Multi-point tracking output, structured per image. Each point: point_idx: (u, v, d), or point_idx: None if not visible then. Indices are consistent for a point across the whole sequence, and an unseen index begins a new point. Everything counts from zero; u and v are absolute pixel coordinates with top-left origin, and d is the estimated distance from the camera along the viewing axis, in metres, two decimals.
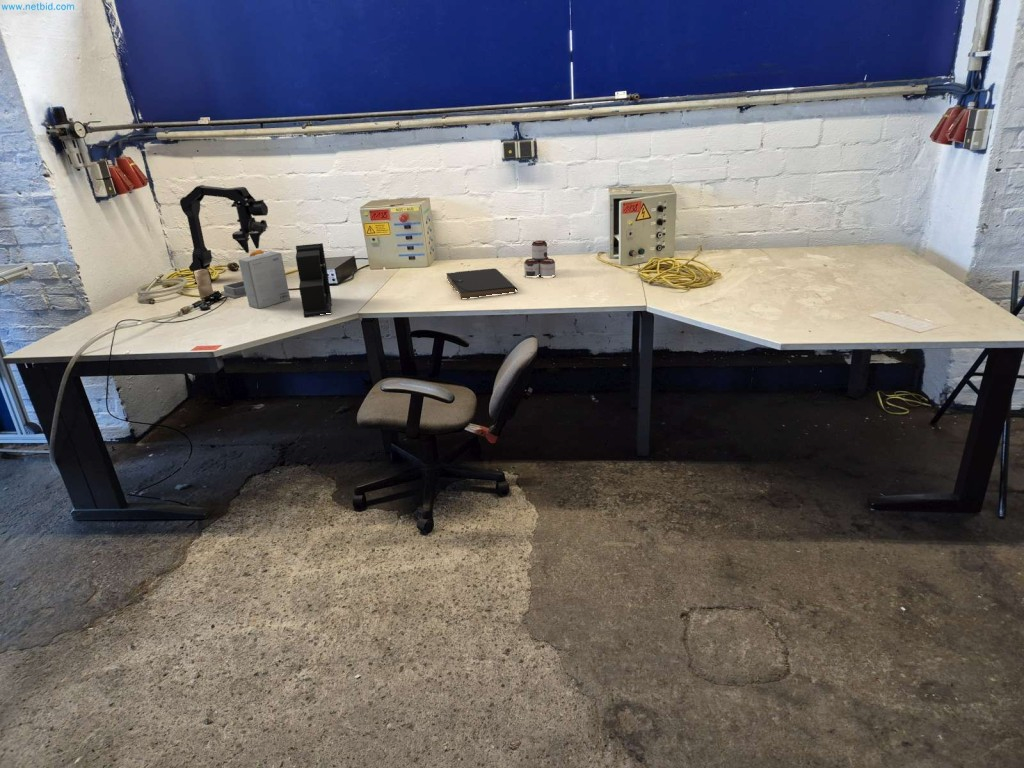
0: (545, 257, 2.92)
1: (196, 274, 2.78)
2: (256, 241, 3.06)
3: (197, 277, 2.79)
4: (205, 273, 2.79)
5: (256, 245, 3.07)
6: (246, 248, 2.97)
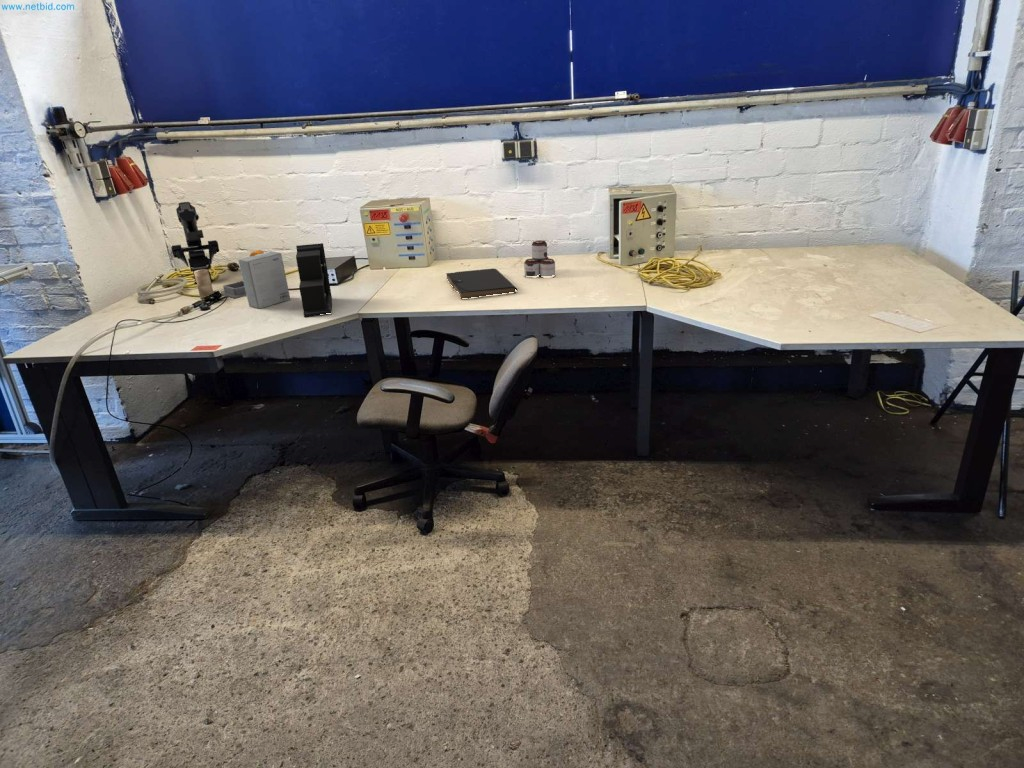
0: (545, 257, 2.92)
1: (196, 274, 2.78)
2: (209, 256, 2.89)
3: (197, 277, 2.79)
4: (205, 273, 2.79)
5: (209, 260, 2.89)
6: (184, 261, 2.85)
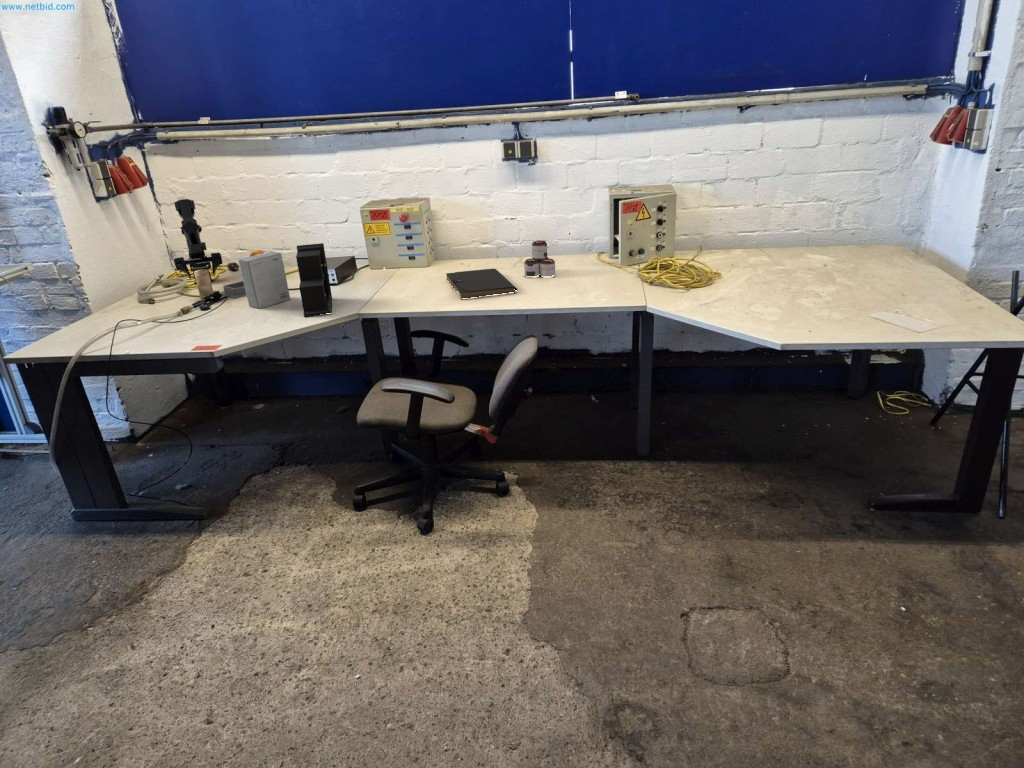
0: (545, 257, 2.92)
1: (196, 274, 2.78)
2: (212, 269, 2.86)
3: (197, 277, 2.79)
4: (205, 273, 2.79)
5: None
6: (187, 274, 2.81)
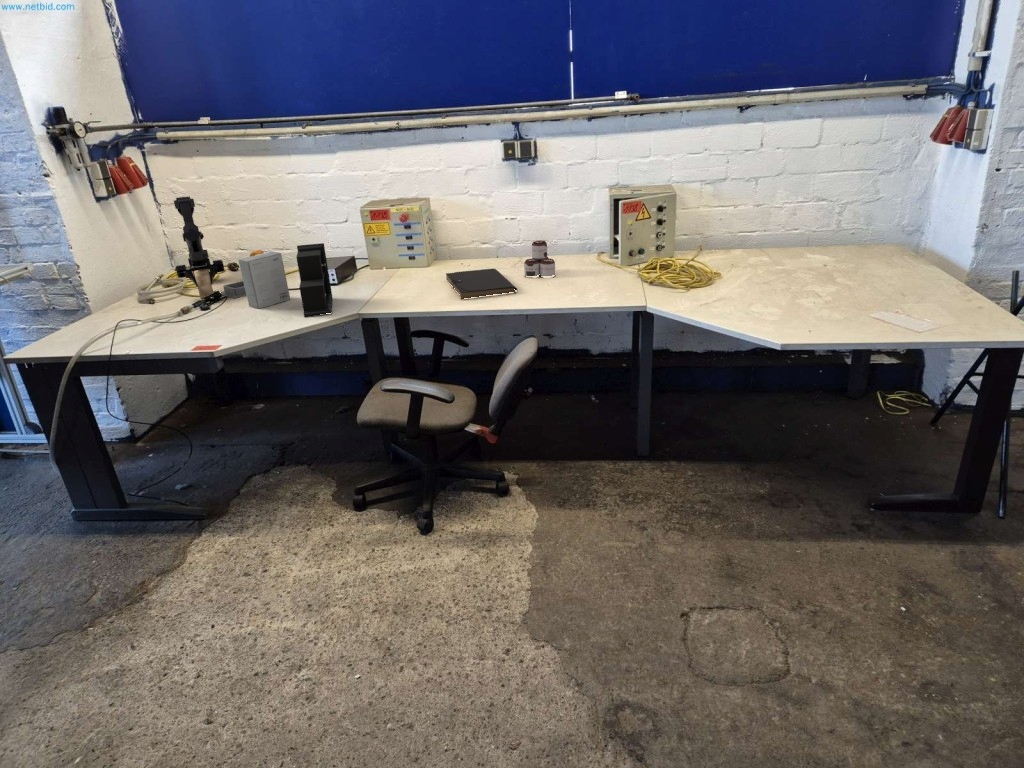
0: (545, 257, 2.92)
1: (196, 274, 2.78)
2: (210, 277, 2.83)
3: (197, 277, 2.79)
4: (205, 273, 2.79)
5: None
6: (193, 281, 2.80)
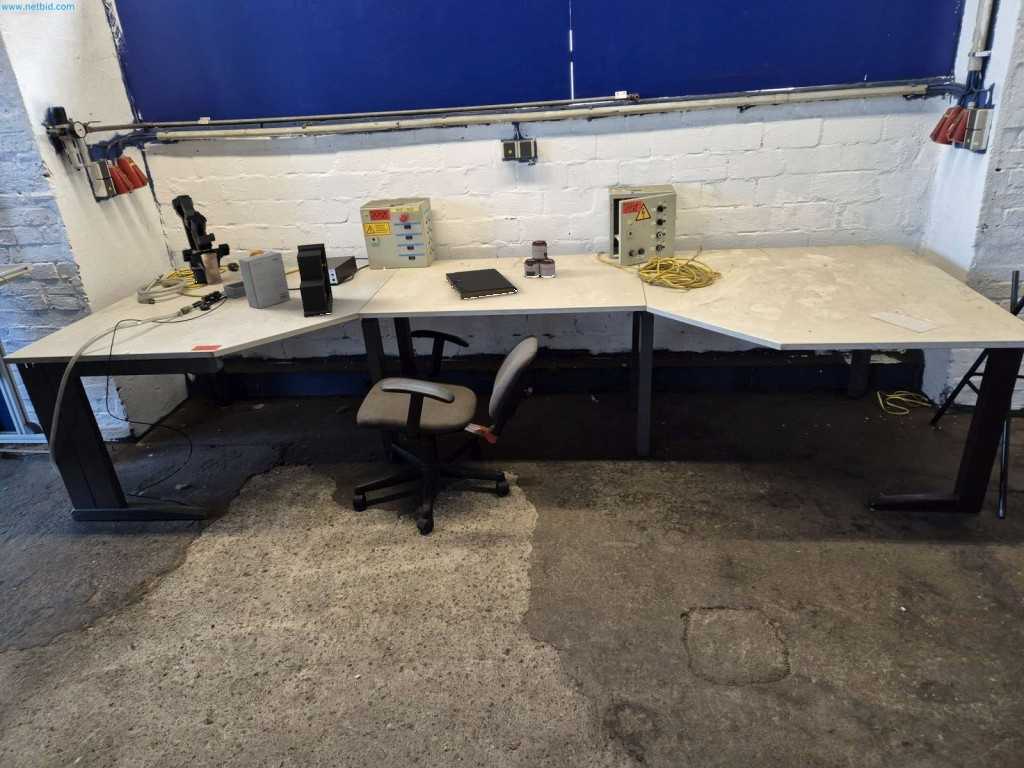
0: (545, 257, 2.92)
1: (204, 257, 2.77)
2: (217, 260, 2.83)
3: (205, 260, 2.78)
4: (213, 256, 2.79)
5: (218, 264, 2.83)
6: (201, 265, 2.79)
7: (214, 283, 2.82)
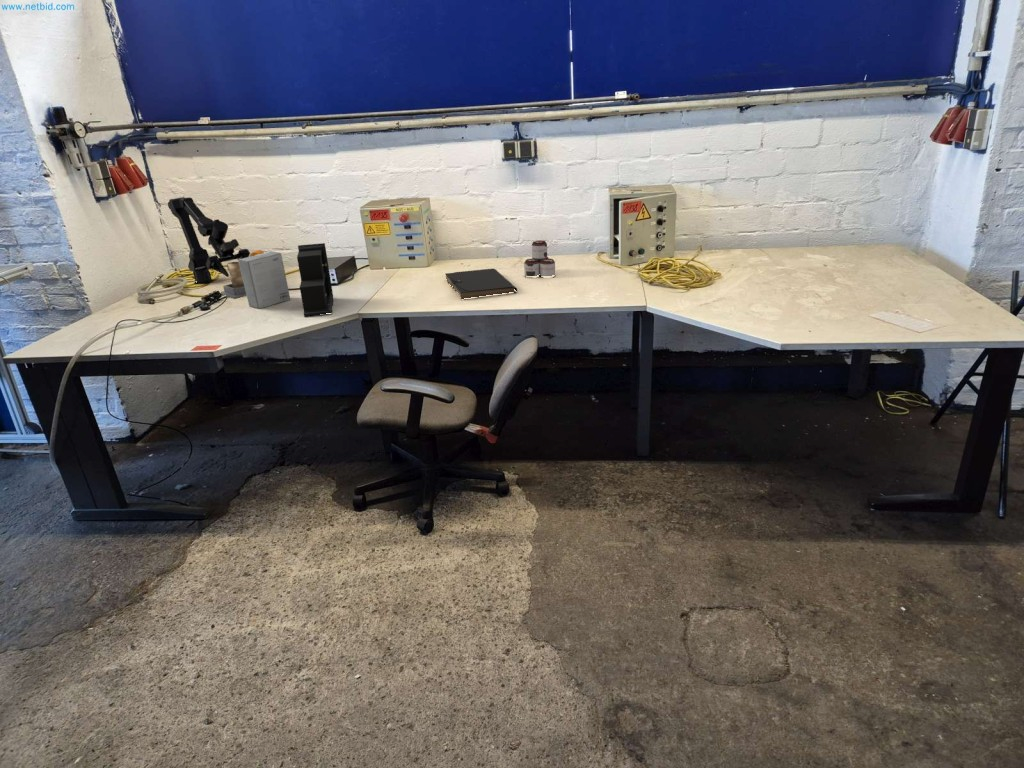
0: (545, 257, 2.92)
1: (232, 266, 2.85)
2: None
3: (233, 269, 2.86)
4: None
5: None
6: (224, 271, 2.85)
7: None
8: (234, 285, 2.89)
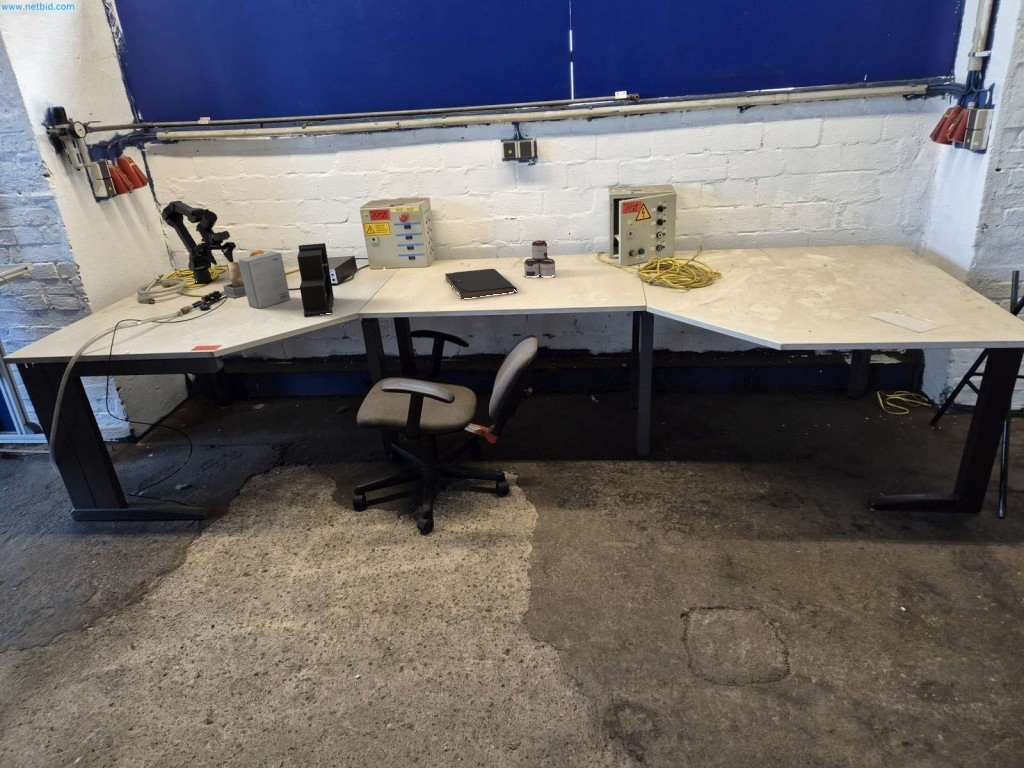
0: (545, 257, 2.92)
1: (232, 266, 2.85)
2: (229, 257, 2.98)
3: (233, 269, 2.86)
4: None
5: (231, 261, 2.98)
6: (212, 260, 2.89)
7: None
8: (234, 285, 2.89)
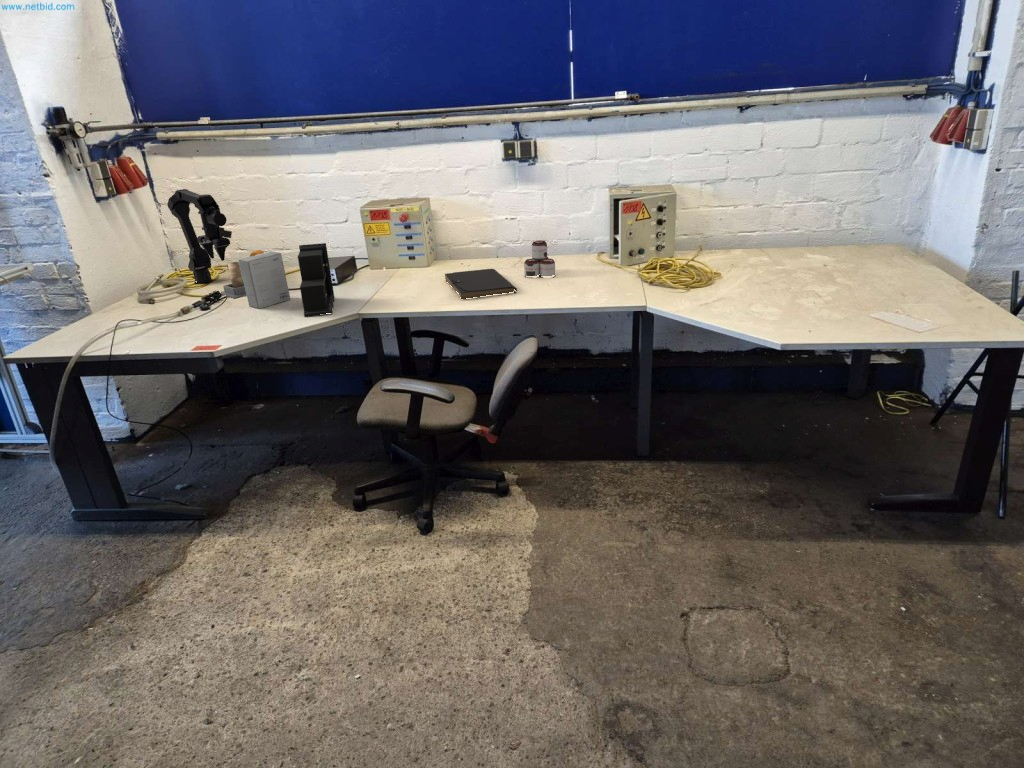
0: (545, 257, 2.92)
1: (232, 266, 2.85)
2: (211, 251, 2.99)
3: (233, 269, 2.86)
4: None
5: (212, 255, 2.99)
6: (223, 255, 2.93)
7: None
8: (234, 285, 2.89)
